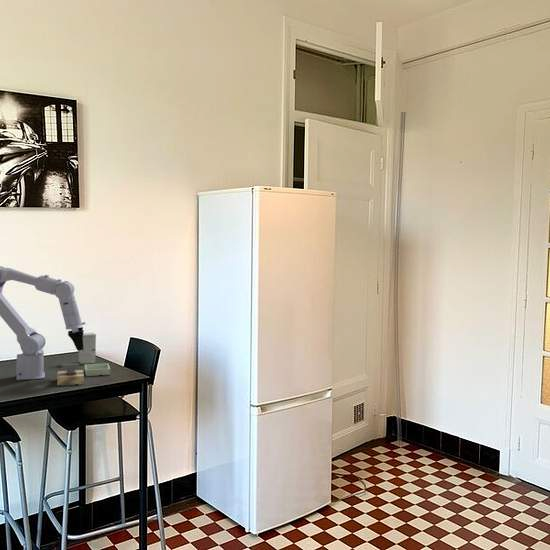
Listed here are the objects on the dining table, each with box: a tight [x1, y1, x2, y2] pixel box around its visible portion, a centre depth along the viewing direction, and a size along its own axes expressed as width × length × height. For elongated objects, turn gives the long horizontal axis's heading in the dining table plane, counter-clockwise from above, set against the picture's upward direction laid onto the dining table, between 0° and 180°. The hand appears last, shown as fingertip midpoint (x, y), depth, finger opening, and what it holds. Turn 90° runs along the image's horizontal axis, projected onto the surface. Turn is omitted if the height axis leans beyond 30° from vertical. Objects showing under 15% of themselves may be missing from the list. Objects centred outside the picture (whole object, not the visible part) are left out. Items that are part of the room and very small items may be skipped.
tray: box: [84, 363, 111, 377], centre depth 228 cm, size 9×9×2 cm
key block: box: [56, 369, 85, 387], centre depth 214 cm, size 9×9×3 cm
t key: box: [61, 362, 80, 375], centre depth 214 cm, size 6×3×6 cm, turn 110°
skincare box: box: [78, 332, 97, 365], centre depth 244 cm, size 6×4×12 cm
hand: (80, 348), depth 220 cm, fingers open, 7 cm apart
